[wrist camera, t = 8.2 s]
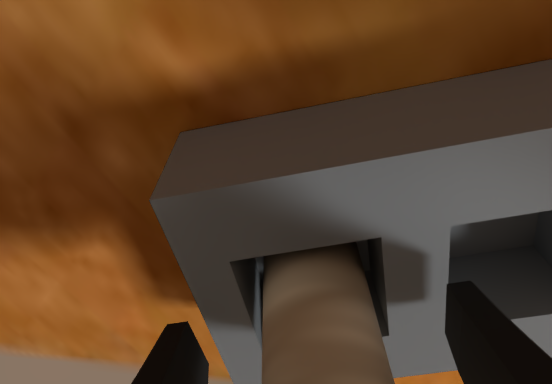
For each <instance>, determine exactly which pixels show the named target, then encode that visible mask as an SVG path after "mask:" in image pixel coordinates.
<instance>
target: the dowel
mask: <svg viewBox="0 0 552 384" xmlns="http://www.w3.org/2000/svg"><path fill="white" fill-rule="evenodd" d="M262 384H395V383H394V379H393V375H392V372H391V368H390V364H389V361H388V357H387V353H386V350H385V346H384V342H383V339H382V335H381V331H380V328H379V324H378V320H377V317H376V313H375V309H374V306H373V302H372V298H371V294H370V291H369V287H368V283H367V280H366V276H365V272H364V269H363V265H362V261H361V258H360V254H359V250H358V247H357V243H356V241H355V242H349V243H343V244H336V245H330V246H324V247H318V248H311V249H305V250H299V251H293V252H286V253H280V254H274V255H268V256H264V267H263V328H262Z"/></svg>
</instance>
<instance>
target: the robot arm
mask: <svg viewBox="0 0 552 384" xmlns="http://www.w3.org/2000/svg"><path fill="white" fill-rule="evenodd" d="M445 335H446V338H447V341H448V344H449V347H450V350H451V352H452V355H453V358H454V361H455V364H456V366H457V369H458V372H459V374H460V376H461V378H462V380H463V382H464V384H552V358H551V357H550V356H549V355H548V354H547V353H546V352H545V351H544V350H542V349H541V348H540V347H539V346H538V345H537V344H536V343H535V342H534V341H533V340H531V339H530V338H529V337H528V336H527V335H526V334H525V333H524V332H523V331H522V330H521V329H520V328H519V327H517V326H516V325H515V324H514V323H513V322H512V321H511V320H510V319H509V318H508V317H507V316H506V315H505V314H504V313H503V312H502V311H501V310H500V309H499V308H498V307H497V306H496V305H495V304H494V303H493V302H492V301H491V300H490V299H489V298H488V297H487V296H486V295H485V294H484V293H483V292H482V291H481V290H480V289H479V287H478V286H477V285H476V284H475V283H473V282H472V281H463V282H456V283H449V284H447V288H446V313H445ZM208 371H209V363H208V361H207V359H206V357H205V355H204V353H203V351H202V349H201V347H200V345H199V343H198V341H197V339H196V337H195V335H194V333H193V331H192V329H191V327H190V325H189V323H188V321H187V322H180V323H173V324H167V326H166V327H165V328H164V330H163V332H162V333H161V335H160V337H159V338H158V340H157V342H156V344H155V345H154V347H153V349H152V350H151V352H150V354H149V355H148V357H147V359H146V360H145V362H144V364H143V365H142V367H141V369H140V370H139V372H138V374H137V376H136V377H135V379H134V380H133V382H132V383H131V384H208Z"/></svg>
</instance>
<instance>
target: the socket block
mask: <svg viewBox="0 0 552 384" xmlns="http://www.w3.org/2000/svg"><path fill="white" fill-rule="evenodd" d="M149 201H150V203H151V205H152V208H153V210H154V212H155V214H156V216H157V218H158V221H159V223H160V225H161V227H162V229H163V231H164V234H165V236H166V238H167V240H168V242H169V244H170V247H171V249H172V251H173V253H174V255H175V257H176V260H177V262H178V264H179V266H180V268H181V270H182V273H183V275H184V277H185V279H186V281H187V283H188V286H189V288H190V290H191V292H192V294H193V296H194V299H195V301H196V303H197V305H198V307H199V309H200V312H201V314H202V316H203V318H204V320H205V322H206V325H207V327H208V329H209V331H210V333H211V335H212V338H213V340H214V342H215V344H216V346H217V348H218V351H219V353H220V355H221V357H222V359H223V361H224V364H225V366H226V368H227V370H228V372H229V374H230V377H231V379H232V381H233V383H234V384H262V328H263V267H264V256H268V255H274V254H280V253H286V252H293V251H299V250H305V249H311V248H318V247H324V246H330V245H336V244H343V243H349V242H355V241H356V243H357V247H358V250H359V254H360V258H361V261H362V265H363V269H364V272H365V276H366V280H367V283H368V287H369V291H370V294H371V298H372V302H373V306H374V309H375V313H376V317H377V320H378V324H379V328H380V331H381V335H382V339H383V342H384V346H385V350H386V353H387V357H388V361H389V364H390V368H391V372H392V375H393V378H397V377H406V376H414V375H422V374H430V373H438V372H446V371H455V370H458V369H457V366H456V364H455V361H454V358H453V355H452V352H451V350H450V347H449V344H448V341H447V338H446V335H445V313H446V288H447V284H449V283H456V282H463V281H472V282H473V283H475V284H476V285H477V286H478V287H479V289H480V290H481V291H482V292H483V293H484V294H485V295H486V296H487V297H488V298H489V299H490V300H491V301H492V302H493V303H494V304H495V305H496V306H497V307H498V308H499V309H500V310H501V311H502V312H503V313H504V314H505V315H506V316H507V317H508V318H509V319H510V320H511V321H512V322H513V323H514V324H515V325H516V326H517V327H519V328H520V329H521V330H522V331H523V332H524V333H525V334H526V335H527V336H528V337H529V338H530V339H531V340H533V341H534V342H535V343H536V344H537V345H538V346H539V347H540V348H541V349H542V350H544V351H545V352H546V353H547V354H548V355H549V356H550V357H551V358H552V59H550V60H545V61H540V62H535V63H530V64H525V65H520V66H515V67H510V68H505V69H500V70H494V71H489V72H484V73H479V74H474V75H469V76H464V77H459V78H454V79H449V80H444V81H439V82H434V83H429V84H424V85H418V86H413V87H408V88H403V89H398V90H393V91H388V92H383V93H378V94H373V95H368V96H363V97H358V98H353V99H348V100H343V101H337V102H332V103H327V104H322V105H317V106H312V107H307V108H302V109H297V110H292V111H287V112H282V113H277V114H272V115H267V116H261V117H256V118H251V119H246V120H241V121H236V122H231V123H226V124H221V125H216V126H211V127H206V128H201V129H196V130H191V131H185V132H180V134H179V136H178V139H177V141H176V143H175V145H174V147H173V150H172V152H171V154H170V156H169V158H168V160H167V163H166V165H165V167H164V169H163V171H162V174H161V176H160V178H159V180H158V182H157V185H156V187H155V189H154V191H153V193H152V195H151V198H150V200H149Z"/></svg>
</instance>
